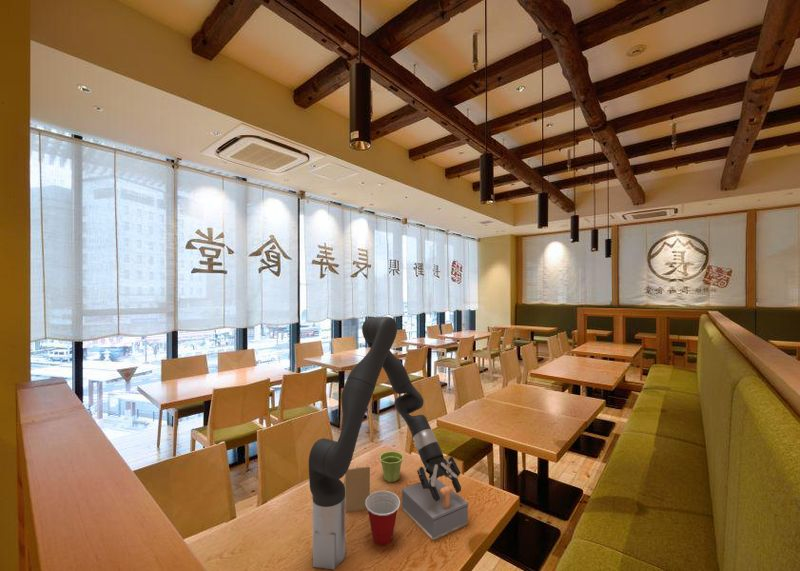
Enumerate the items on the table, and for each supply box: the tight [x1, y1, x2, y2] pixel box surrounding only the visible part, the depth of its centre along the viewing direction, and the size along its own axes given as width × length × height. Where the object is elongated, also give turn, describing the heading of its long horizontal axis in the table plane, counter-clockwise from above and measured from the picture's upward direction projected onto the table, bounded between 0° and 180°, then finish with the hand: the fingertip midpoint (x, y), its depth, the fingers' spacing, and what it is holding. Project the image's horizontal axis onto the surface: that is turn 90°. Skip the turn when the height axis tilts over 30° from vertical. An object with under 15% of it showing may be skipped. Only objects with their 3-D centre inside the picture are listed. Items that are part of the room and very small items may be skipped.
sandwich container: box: [343, 466, 371, 513], centre depth 132 cm, size 9×15×15 cm, turn 14°
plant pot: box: [379, 451, 404, 483], centre depth 145 cm, size 9×9×9 cm
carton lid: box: [401, 478, 469, 520], centre depth 122 cm, size 18×14×7 cm
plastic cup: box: [365, 490, 401, 546], centre depth 111 cm, size 11×11×12 cm
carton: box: [401, 491, 469, 542], centre depth 122 cm, size 18×14×6 cm
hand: (448, 496), depth 115 cm, fingers open, 8 cm apart
